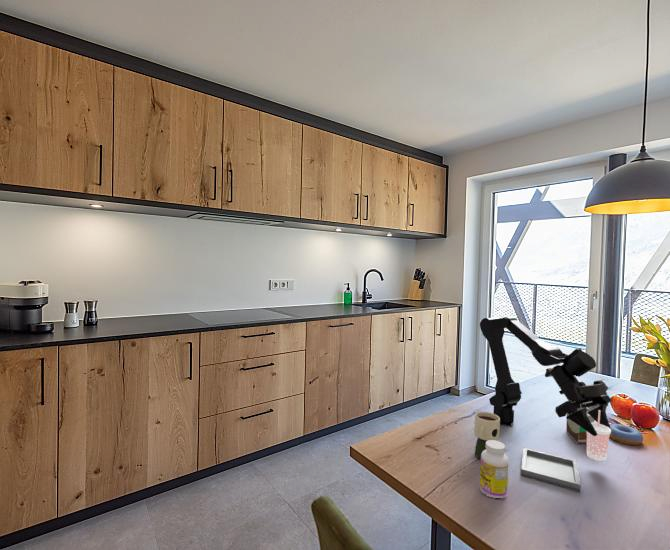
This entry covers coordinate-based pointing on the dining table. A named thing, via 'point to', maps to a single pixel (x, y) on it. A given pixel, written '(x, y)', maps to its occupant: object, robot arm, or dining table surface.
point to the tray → (550, 469)
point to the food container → (578, 430)
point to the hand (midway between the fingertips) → (602, 433)
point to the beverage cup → (598, 441)
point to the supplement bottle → (494, 470)
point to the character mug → (485, 430)
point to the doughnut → (625, 434)
